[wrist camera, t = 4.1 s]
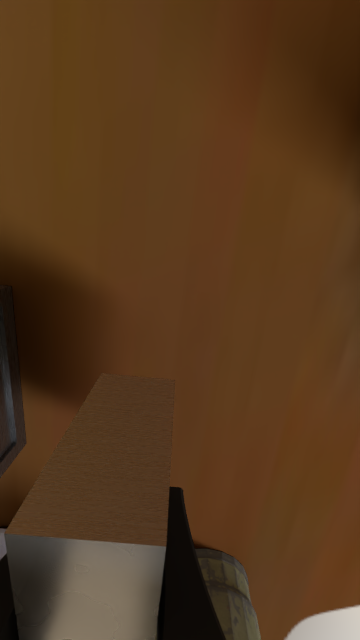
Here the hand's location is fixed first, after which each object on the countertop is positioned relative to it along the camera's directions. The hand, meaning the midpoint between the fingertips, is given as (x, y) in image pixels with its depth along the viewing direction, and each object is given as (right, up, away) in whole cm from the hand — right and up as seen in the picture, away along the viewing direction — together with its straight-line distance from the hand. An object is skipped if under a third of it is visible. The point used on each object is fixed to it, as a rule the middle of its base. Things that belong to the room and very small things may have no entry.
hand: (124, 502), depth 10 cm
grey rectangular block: (0, +1, +2) cm, 2 cm away
